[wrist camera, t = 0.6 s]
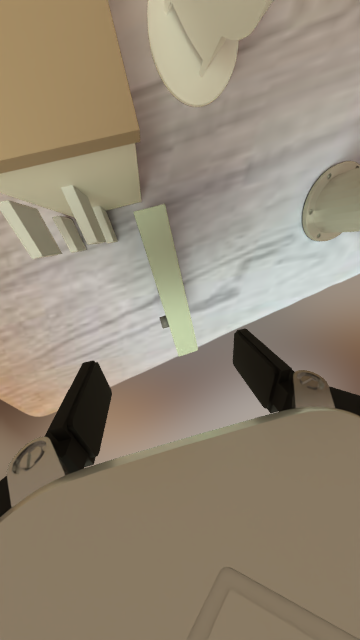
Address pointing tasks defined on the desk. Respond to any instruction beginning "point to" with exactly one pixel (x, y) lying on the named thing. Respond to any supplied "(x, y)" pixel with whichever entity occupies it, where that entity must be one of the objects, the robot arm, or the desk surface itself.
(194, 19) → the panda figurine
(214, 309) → the desk surface
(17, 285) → the desk surface
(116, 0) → the desk surface
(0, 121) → the cabinet
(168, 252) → the door
